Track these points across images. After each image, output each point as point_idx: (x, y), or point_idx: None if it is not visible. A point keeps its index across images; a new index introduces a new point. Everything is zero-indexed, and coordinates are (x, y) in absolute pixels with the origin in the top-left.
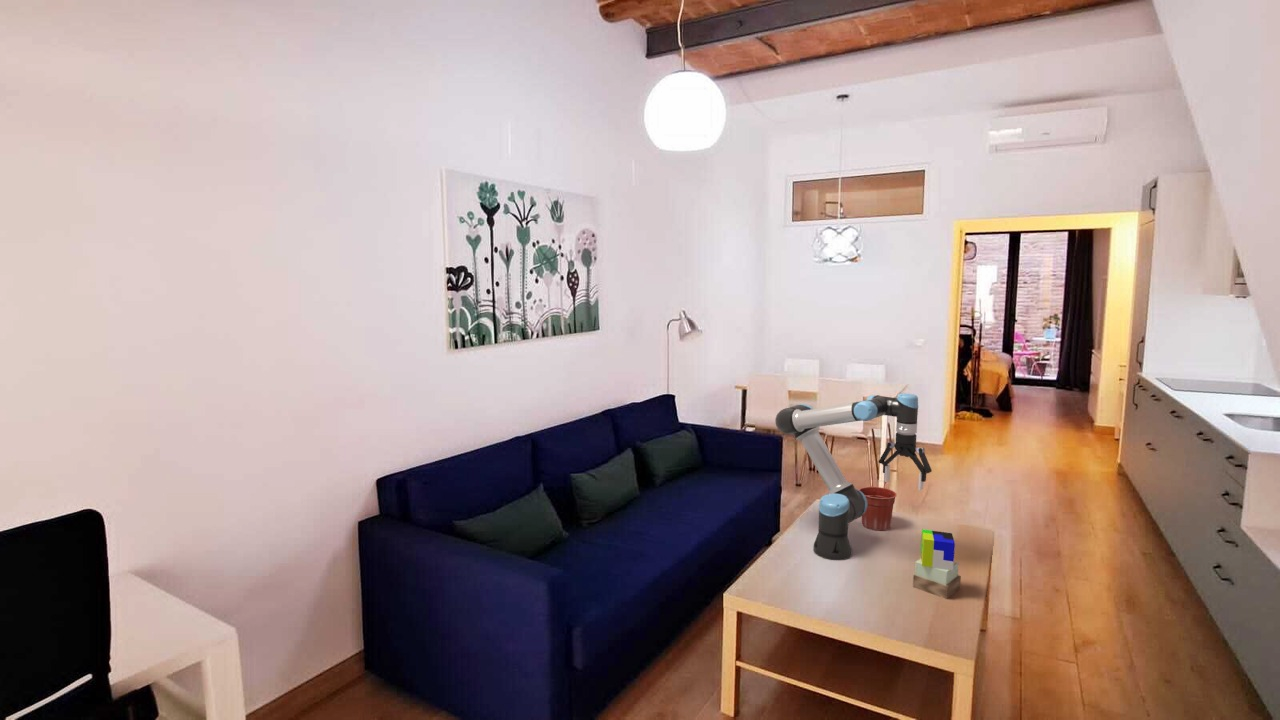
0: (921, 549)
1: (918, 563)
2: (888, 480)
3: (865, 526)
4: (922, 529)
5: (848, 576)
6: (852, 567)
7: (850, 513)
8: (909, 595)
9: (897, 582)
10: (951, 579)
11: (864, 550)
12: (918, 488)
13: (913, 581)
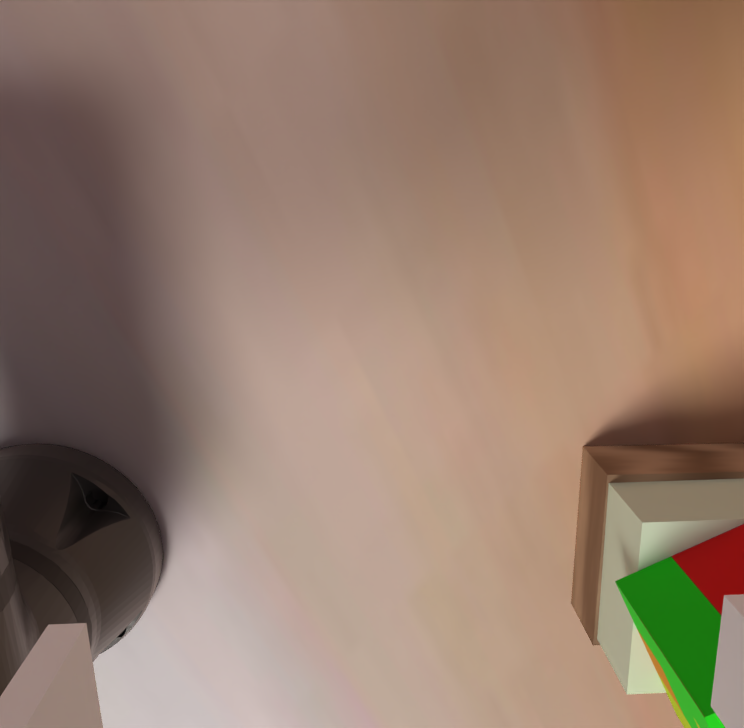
0: (652, 649)
1: (644, 690)
2: (84, 661)
3: None
4: (706, 718)
5: (290, 722)
6: (245, 627)
7: (4, 684)
8: (590, 686)
9: (494, 611)
10: None
11: (154, 377)
12: (726, 726)
13: (582, 622)
